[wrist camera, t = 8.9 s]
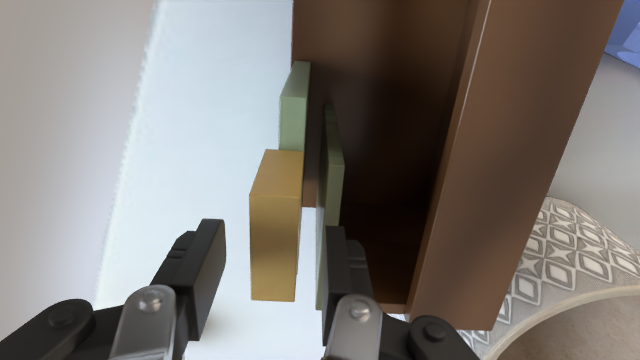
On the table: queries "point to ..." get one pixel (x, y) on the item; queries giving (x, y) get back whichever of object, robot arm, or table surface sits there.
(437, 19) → the cabinet
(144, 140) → the table surface
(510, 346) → the planter
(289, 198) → the door
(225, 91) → the table surface
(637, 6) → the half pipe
